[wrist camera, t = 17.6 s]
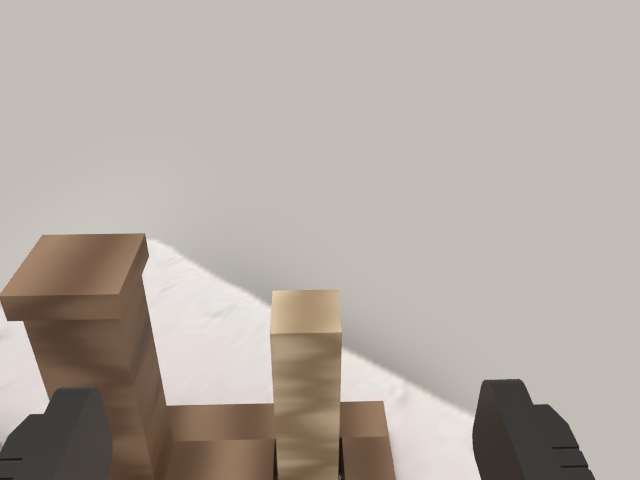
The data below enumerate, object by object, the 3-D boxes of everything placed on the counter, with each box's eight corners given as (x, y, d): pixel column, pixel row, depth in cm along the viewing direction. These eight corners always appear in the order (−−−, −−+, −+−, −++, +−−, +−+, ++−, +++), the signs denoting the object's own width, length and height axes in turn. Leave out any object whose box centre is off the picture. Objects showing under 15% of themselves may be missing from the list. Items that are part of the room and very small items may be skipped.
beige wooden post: (280, 528, 42) (269, 333, 33) (282, 479, 46) (272, 290, 36) (336, 526, 43) (341, 332, 33) (334, 478, 46) (337, 289, 37)
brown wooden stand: (72, 590, 39) (-30, 335, 27) (119, 441, 49) (60, 210, 38) (401, 581, 39) (434, 326, 28) (380, 435, 49) (398, 205, 38)
